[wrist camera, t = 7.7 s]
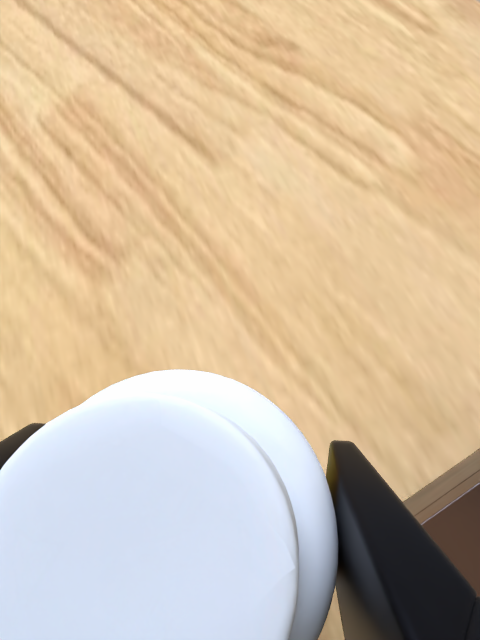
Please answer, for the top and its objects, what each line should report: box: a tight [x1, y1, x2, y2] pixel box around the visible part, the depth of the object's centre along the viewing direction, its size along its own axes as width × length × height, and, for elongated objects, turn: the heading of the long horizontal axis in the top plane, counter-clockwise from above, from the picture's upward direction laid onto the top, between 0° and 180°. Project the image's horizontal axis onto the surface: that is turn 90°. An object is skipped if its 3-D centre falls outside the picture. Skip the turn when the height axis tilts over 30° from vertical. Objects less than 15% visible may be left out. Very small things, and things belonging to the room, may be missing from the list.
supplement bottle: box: [0, 370, 338, 640], centre depth 10 cm, size 6×6×10 cm
